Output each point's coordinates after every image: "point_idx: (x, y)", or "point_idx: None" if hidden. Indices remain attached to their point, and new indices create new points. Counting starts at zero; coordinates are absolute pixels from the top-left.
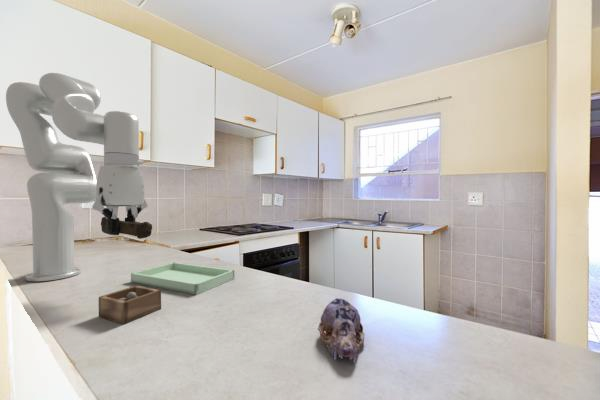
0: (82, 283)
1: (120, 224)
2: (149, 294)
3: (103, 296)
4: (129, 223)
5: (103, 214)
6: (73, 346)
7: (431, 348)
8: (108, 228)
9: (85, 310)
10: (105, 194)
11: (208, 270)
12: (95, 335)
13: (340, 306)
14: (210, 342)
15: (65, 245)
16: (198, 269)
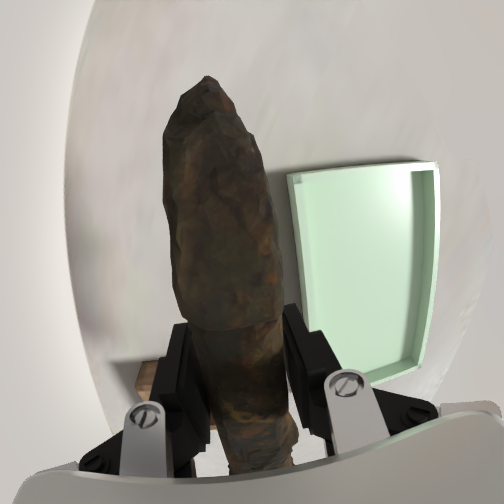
0: (190, 59)
1: (215, 422)
2: None
3: (142, 390)
4: (238, 465)
5: (107, 446)
6: (110, 411)
7: None
8: (158, 369)
9: (129, 313)
10: None
11: (424, 304)
12: (131, 407)
13: None
14: (217, 475)
15: None
16: (427, 270)
